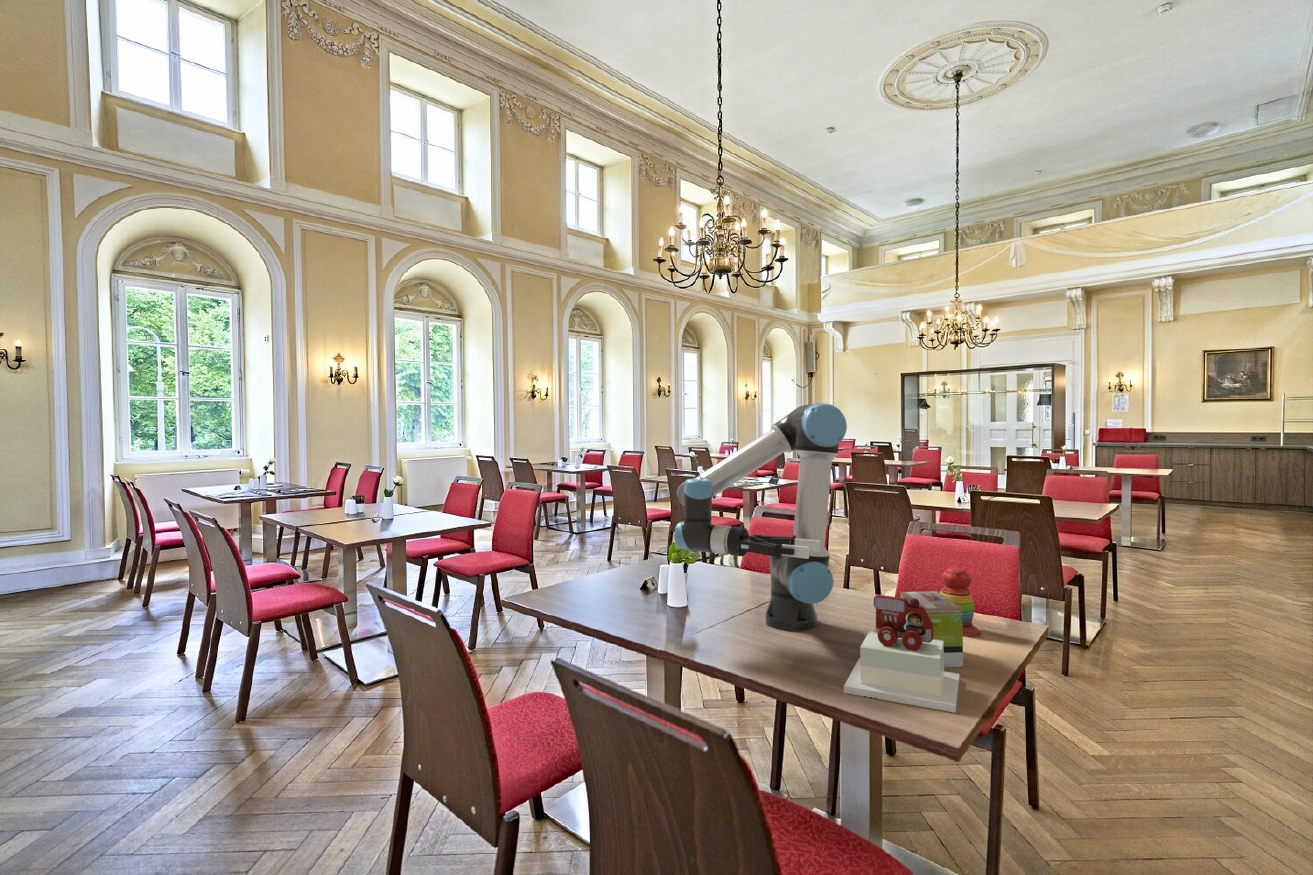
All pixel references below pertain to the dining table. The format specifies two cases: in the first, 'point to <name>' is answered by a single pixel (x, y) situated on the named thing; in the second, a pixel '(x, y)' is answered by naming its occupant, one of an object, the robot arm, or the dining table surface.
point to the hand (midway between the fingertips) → (814, 549)
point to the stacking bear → (960, 597)
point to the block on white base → (904, 674)
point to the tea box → (942, 623)
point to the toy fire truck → (902, 622)
